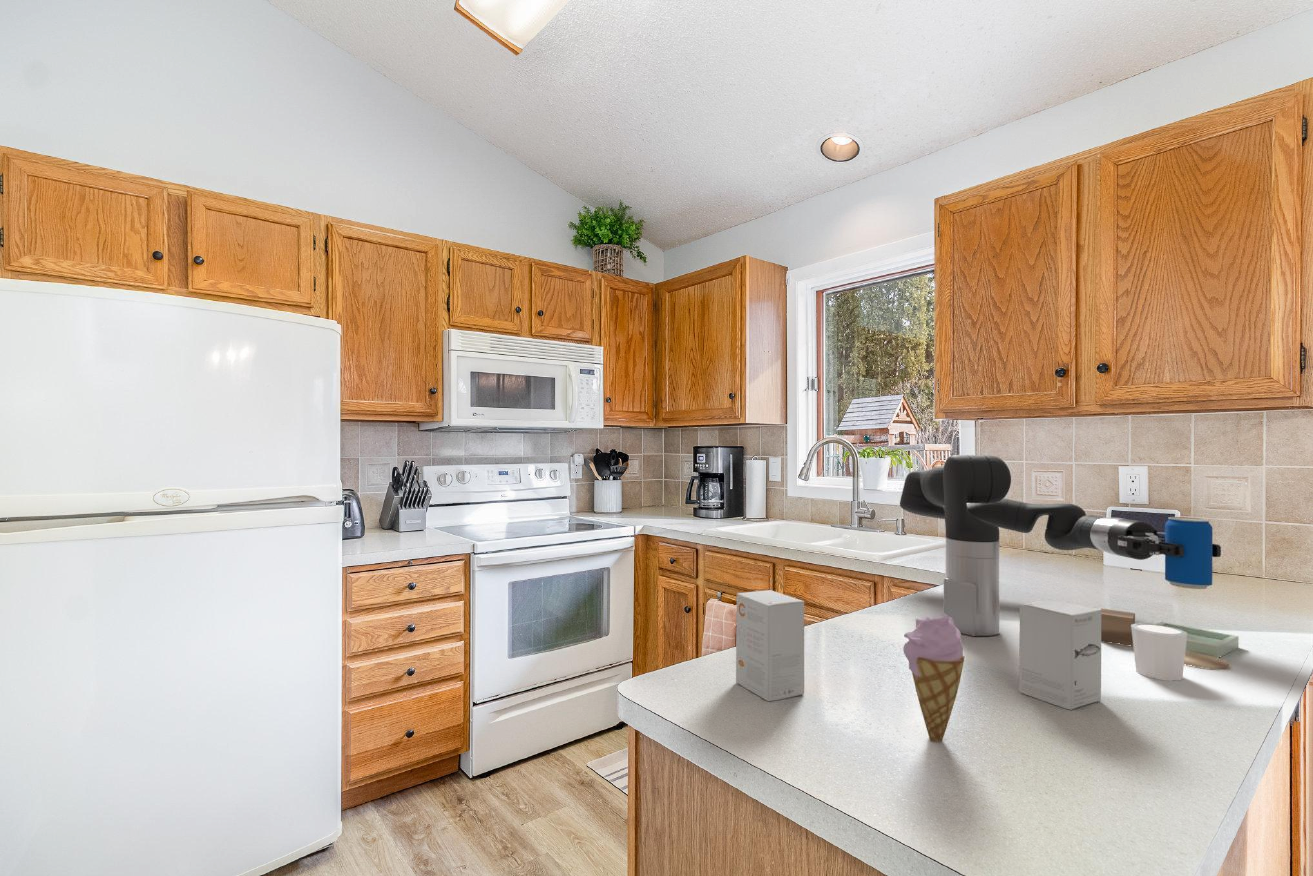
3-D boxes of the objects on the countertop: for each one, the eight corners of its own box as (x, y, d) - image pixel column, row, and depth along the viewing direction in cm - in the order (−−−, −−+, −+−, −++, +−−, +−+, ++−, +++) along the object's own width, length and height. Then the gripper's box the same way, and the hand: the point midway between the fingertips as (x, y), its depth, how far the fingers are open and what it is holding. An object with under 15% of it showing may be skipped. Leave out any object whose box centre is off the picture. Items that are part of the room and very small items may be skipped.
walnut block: (1133, 647, 112) (1132, 618, 112) (1098, 641, 115) (1098, 613, 115) (1135, 640, 115) (1135, 613, 116) (1101, 635, 119) (1101, 608, 119)
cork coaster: (1220, 675, 99) (1220, 670, 99) (1157, 660, 105) (1157, 656, 105) (1236, 666, 103) (1236, 661, 103) (1175, 652, 110) (1175, 648, 110)
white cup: (1179, 670, 99) (1179, 625, 99) (1194, 685, 93) (1194, 637, 93) (1125, 664, 102) (1125, 620, 102) (1137, 678, 96) (1137, 631, 96)
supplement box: (1072, 712, 83) (1071, 614, 83) (1017, 692, 90) (1017, 602, 90) (1103, 702, 86) (1103, 608, 87) (1048, 684, 93) (1048, 597, 93)
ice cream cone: (932, 756, 70) (933, 620, 71) (891, 733, 76) (891, 607, 76) (975, 745, 73) (975, 615, 73) (932, 724, 79) (932, 602, 79)
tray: (1217, 658, 105) (1217, 646, 105) (1138, 641, 114) (1138, 630, 115) (1238, 647, 112) (1238, 636, 112) (1162, 632, 121) (1162, 621, 121)
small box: (805, 695, 88) (805, 600, 88) (767, 702, 85) (768, 605, 85) (770, 676, 95) (770, 588, 95) (734, 682, 92) (735, 592, 93)
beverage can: (1194, 582, 116) (1194, 517, 116) (1222, 590, 110) (1222, 521, 110) (1156, 581, 117) (1156, 516, 117) (1182, 589, 110) (1182, 520, 111)
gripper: (1156, 555, 128) (1238, 572, 112) (1089, 556, 127) (1161, 573, 110) (1156, 518, 128) (1238, 529, 112) (1089, 518, 127) (1161, 529, 111)
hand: (1200, 551), depth 111 cm, fingers closed on beverage can, 6 cm apart
